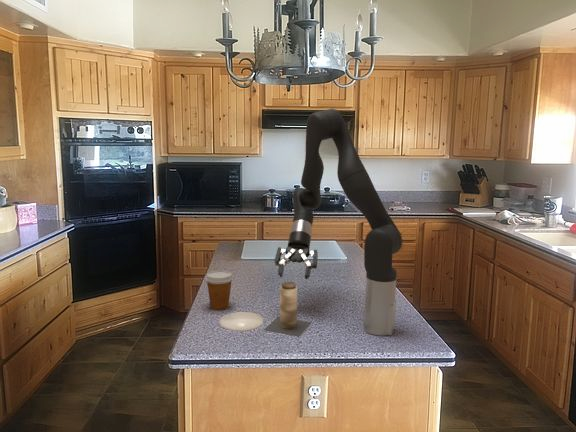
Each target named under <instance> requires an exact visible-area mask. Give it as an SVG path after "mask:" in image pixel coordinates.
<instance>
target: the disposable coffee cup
mask: <svg viewBox="0 0 576 432" xmlns="http://www.w3.org/2000/svg"><path fill="white" fill-rule="evenodd" d="M233 279H234V276H233V274H232V273H231V272H230V271H227V270H226V271H225V270H216V271H215V270H213V271H209V272H208V273H207V274H206V277H205V280H206V285H207V293H208V297H209V298H208V299H209V304H210V309H212V310H214V311H217V310H218V311H222V310H226V309H228V308H229V304H230V298H231V297H230V296H231V289H232V281H233Z"/></svg>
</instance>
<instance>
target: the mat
mask: <svg viewBox="0 0 576 432" xmlns="http://www.w3.org/2000/svg"><path fill="white" fill-rule="evenodd" d="M312 323H313V321H305V320H299V319H297V326H296V328H294V329H290V330H286V329H282V328H280V316H277V317H276V318H274V319H273V321H271V323H269V324H268V325H267V326H266V327H265V328H263V331H266V332H271V333H276V334H281V335H288V336H292V337H293V336H294V337H298V338H300V336H301V335H302V334H303V333H304V332H305V331H306V330H307V328H308V327H310V325H311V324H312Z"/></svg>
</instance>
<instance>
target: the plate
mask: <svg viewBox="0 0 576 432" xmlns="http://www.w3.org/2000/svg"><path fill="white" fill-rule="evenodd" d="M263 324H264V318H263V316H262V315H261V314H258V313H255V312H251V311H235V312H230V313H227V314H225V315H223V316H222V317H220V319H219V326H221V327H222V328H223V329H225V330H228V331H233V332H246V331H252V330H256V329H259V328H261V326H263Z"/></svg>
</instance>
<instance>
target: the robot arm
mask: <svg viewBox="0 0 576 432" xmlns="http://www.w3.org/2000/svg"><path fill="white" fill-rule="evenodd" d="M305 129H306V130H305V131H306V132H305V157H304V165H303V170H302V176H301V180H300V181H301V182H300V183H301V186H302V187H297V188H296V189H295V190H294V191H293V193H292V204H293V210H294V212H293V213H294V214H293V219H292V223H291V227H290V231H289V237H288V243H287V247H286V248H282V247H280V246H277V250H276V254H275V257H274V264H275V266H278V269H277V275H278V276H279V278H283V275H284V269H285V266H287V265H289V264H290V263H291V262H292V263H303V264H304V266H305V273H304V279H305V280H308V278H310V277H311V270H313V269H314V270H315V269H318V257H319V256H318V255H319V253H318V250H317V249H314V250H310V246H311V240H312V237H313V236H312V233H313V223H314V217H315V215H314V212H313V211H312V210H317V209H318V208H319V207H320V206H321V203H322V194H321V183H322V179H323V175H324V170H325V169H324V168H325V167H324V162H323V159H322V158H321V157H322V156H321V154H320V147H321V144H322V141H325V140H329V139H332V140H333V142H334V145H335V146H336V149H337V153H338V155H337V156H338V161H337V162H338V163H337V179H338V182H339V184H340V187H341V188H342V190H343V193H344V195H345V196H346V198H347V199H348V200H349V201H350V203H351V204H352V205H353V206H354V207H355V208H356V209H357V210H358V211H360V213H361V214H362V215H363V216H364V218H365V220H366V221H367V222H368V225H369V226H370V229H371V230H369V232H367V234H366V237H365V239H364V249H363V250H364V251H363V252H364V253H363V254H364V255H363V256H364V257H363V260H364V261H363V263H364V269H365V272H366V273H365V274H366V276H365V278H366V279H365V301H364V318H363V319H364V320H363V330H364V331H365V332H366V333H368V334H370V335H374V336H392V335H393V333H394V331H395V329H396V326H395V325H396V310H397V300H396V293H397V292H396V291H397V290H396V289H397V275H398V272H397V269H396V268H394V267H393V255H394V254H396V253H398V252H399V251H400V250H401V249H402V247H403V246H402V245H403V237H402V234H401V232H400V231H399V228H398V227H397V225H396V224H395V222H394V221H393V219H392V218H391V216H390V214H389V213H388V211H387V209H386V208H385V206H384V203H383V201H382V199H381V197H380V196H379V194H378V192H377V189H376V187H375V185H374V183H373V182H372V179H371V177H370V174H369V173H368V171H367V169H366V168H365V166H364V164H363V162H362V160H361V158H360V155H359V153H358V151H357V149H356V147H355V145H354V143H353V140H352V138H351V135H350V133H349V129H348V127H347V124H346V122H345V119H344V117H343V115H342V114H341V112H339V110H338V109H335V108H330V109H325V110H321V111H315V112H313V113H311V114H310V115H308V118H307V121H306V127H305ZM284 254H285V255H284ZM283 255H284V257H283V258H282V256H283ZM309 256H311V258H312V262H310V260H309V259H308V258H309ZM281 258H282V259H281Z"/></svg>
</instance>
